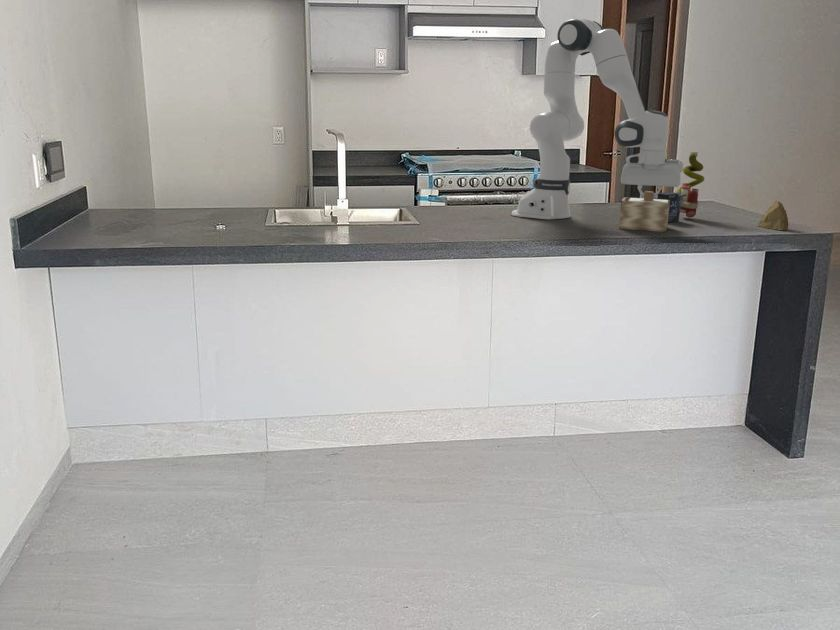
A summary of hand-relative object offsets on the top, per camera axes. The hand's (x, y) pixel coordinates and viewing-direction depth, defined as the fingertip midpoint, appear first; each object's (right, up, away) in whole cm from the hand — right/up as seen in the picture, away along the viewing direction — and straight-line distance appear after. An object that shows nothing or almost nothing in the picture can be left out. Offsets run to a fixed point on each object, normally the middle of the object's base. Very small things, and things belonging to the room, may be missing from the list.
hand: (648, 198), depth 280 cm
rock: (+47, -10, +6) cm, 48 cm away
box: (+12, -6, +19) cm, 23 cm away
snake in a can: (+22, -4, +25) cm, 33 cm away
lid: (0, -2, +1) cm, 2 cm away
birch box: (-1, -10, +3) cm, 11 cm away
